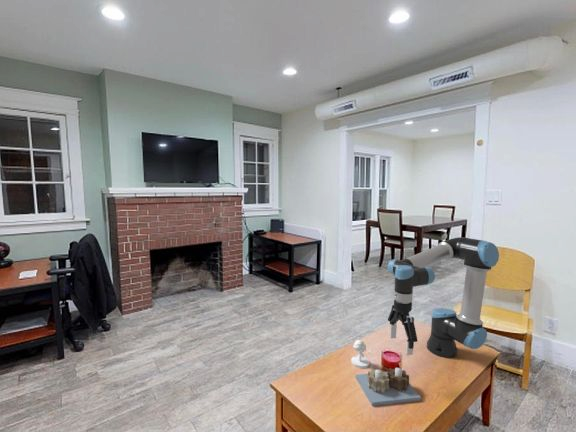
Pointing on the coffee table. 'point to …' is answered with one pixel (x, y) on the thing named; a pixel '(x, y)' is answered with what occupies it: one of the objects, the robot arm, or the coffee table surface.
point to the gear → (378, 382)
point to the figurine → (360, 355)
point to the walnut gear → (398, 380)
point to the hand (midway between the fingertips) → (400, 345)
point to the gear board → (391, 394)
